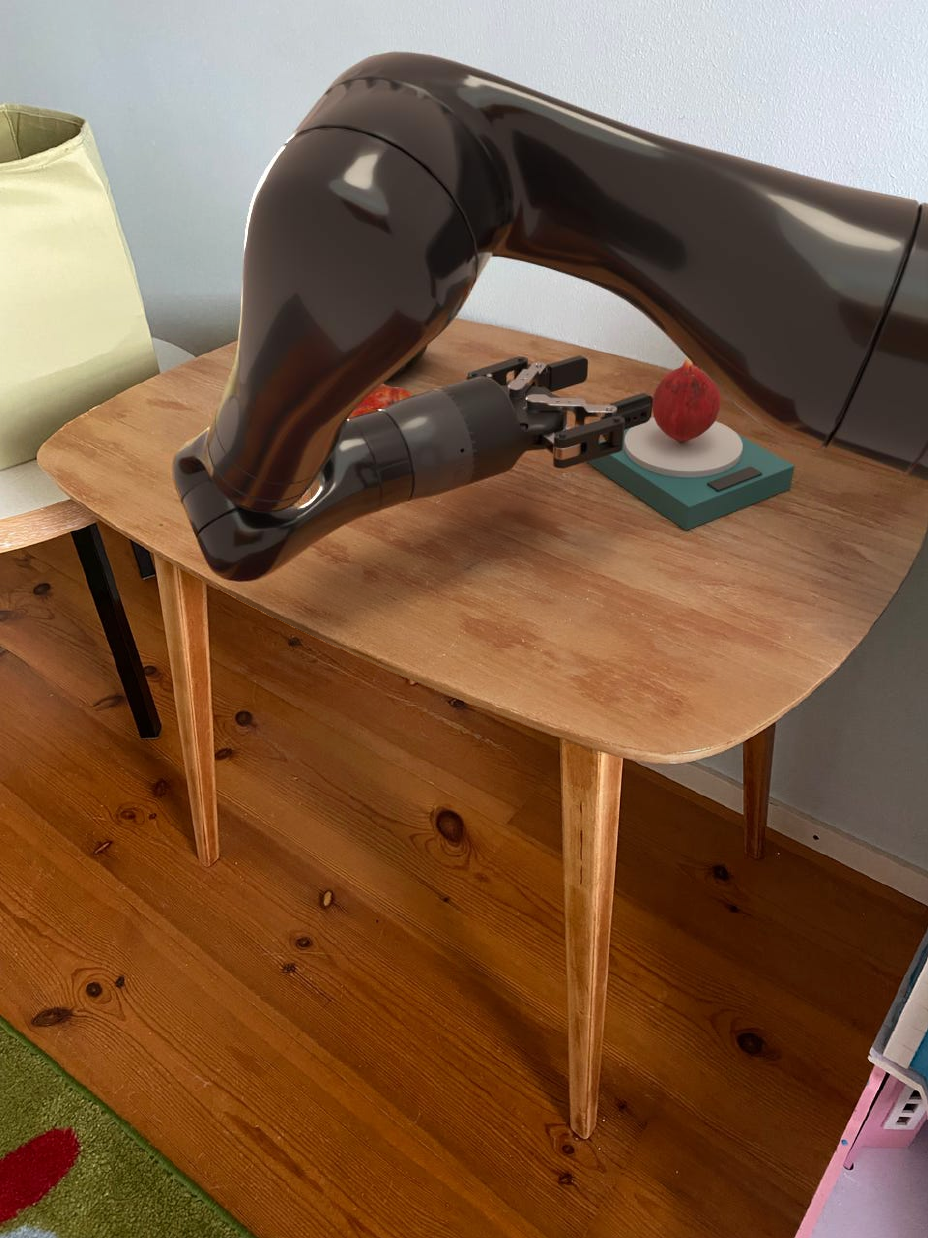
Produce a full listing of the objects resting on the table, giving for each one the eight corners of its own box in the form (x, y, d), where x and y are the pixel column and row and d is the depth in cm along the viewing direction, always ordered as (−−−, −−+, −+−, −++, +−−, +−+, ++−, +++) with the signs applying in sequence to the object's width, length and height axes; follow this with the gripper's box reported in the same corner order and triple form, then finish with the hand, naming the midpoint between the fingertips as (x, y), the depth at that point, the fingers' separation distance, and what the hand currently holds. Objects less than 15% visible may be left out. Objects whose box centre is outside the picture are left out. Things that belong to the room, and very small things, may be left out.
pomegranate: (338, 476, 96) (363, 456, 87) (325, 402, 96) (348, 374, 86) (410, 467, 98) (442, 447, 89) (398, 395, 98) (428, 367, 89)
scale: (790, 489, 87) (796, 458, 85) (686, 531, 83) (690, 499, 81) (684, 427, 97) (688, 398, 95) (586, 462, 92) (587, 432, 90)
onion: (720, 457, 86) (732, 371, 81) (653, 458, 86) (662, 373, 81) (708, 425, 90) (719, 342, 85) (645, 427, 91) (652, 344, 86)
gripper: (494, 432, 67) (678, 373, 73) (396, 360, 77) (566, 313, 83) (495, 524, 72) (668, 462, 78) (403, 445, 81) (564, 395, 88)
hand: (616, 385), depth 80 cm, fingers open, 8 cm apart
